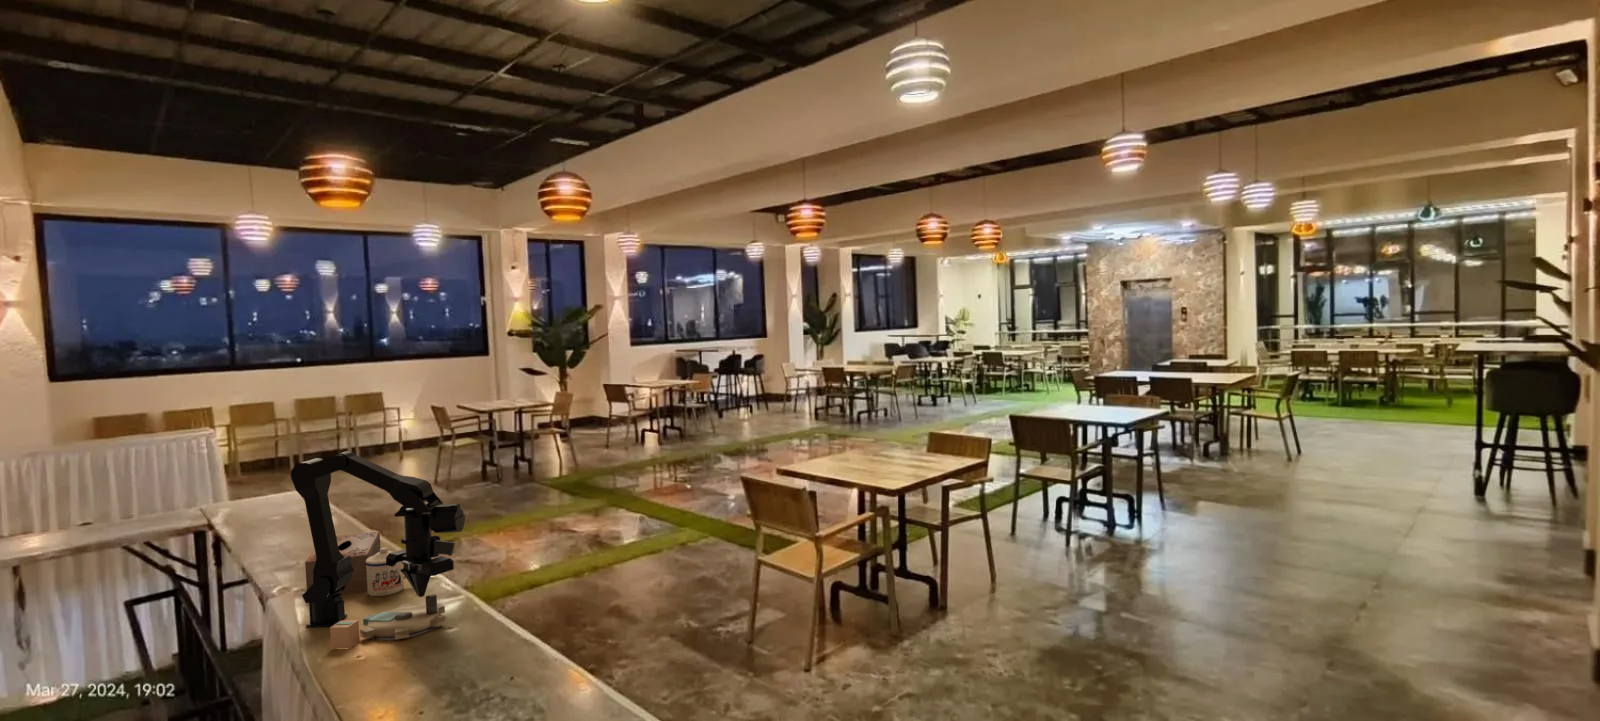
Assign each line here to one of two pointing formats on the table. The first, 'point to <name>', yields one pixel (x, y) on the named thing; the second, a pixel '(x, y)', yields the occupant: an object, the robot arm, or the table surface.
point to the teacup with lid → (383, 575)
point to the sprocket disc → (404, 620)
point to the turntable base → (404, 638)
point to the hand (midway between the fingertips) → (421, 596)
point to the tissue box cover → (359, 552)
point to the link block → (344, 634)
